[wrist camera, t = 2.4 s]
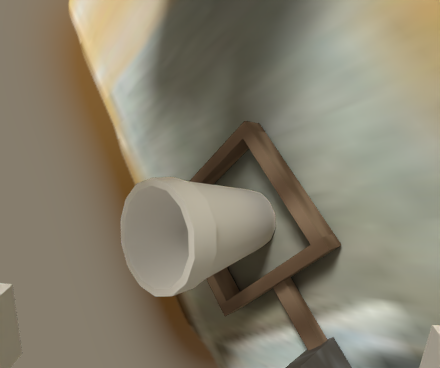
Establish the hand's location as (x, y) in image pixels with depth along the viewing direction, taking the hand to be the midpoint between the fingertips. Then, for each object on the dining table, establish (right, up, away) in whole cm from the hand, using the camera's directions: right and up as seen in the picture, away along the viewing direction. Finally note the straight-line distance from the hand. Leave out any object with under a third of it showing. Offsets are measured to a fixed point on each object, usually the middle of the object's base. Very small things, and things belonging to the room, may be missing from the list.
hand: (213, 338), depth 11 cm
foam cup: (+4, +1, +26) cm, 27 cm away
